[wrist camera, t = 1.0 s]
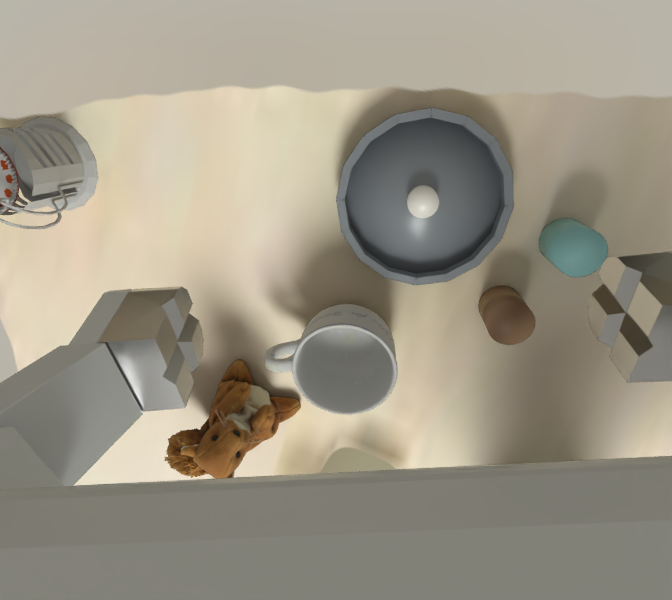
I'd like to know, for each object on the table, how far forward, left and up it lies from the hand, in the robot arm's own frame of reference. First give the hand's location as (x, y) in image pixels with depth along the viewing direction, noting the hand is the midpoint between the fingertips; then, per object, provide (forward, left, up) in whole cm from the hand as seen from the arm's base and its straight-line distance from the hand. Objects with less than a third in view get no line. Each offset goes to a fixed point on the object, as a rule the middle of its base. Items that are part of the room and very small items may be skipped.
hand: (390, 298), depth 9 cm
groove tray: (-5, +2, -39) cm, 39 cm away
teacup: (-7, +20, -39) cm, 44 cm away
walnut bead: (-19, +6, -39) cm, 43 cm away
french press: (+28, +22, -39) cm, 53 cm away
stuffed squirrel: (-3, +35, -39) cm, 53 cm away
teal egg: (-19, -3, -39) cm, 43 cm away
